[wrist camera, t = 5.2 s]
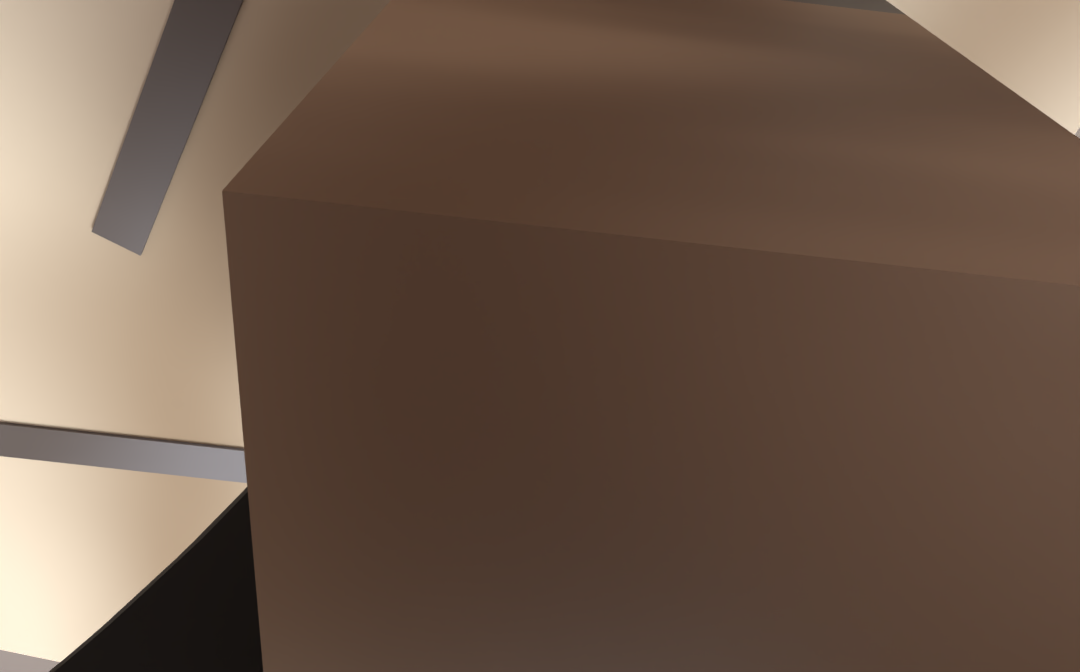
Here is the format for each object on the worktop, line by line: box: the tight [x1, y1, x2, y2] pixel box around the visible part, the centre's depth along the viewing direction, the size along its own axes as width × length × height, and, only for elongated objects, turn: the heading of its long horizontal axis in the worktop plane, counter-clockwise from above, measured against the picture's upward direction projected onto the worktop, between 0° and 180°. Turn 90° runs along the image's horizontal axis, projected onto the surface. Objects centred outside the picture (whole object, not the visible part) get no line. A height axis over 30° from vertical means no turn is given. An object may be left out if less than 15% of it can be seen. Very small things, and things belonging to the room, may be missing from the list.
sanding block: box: [222, 0, 1080, 672], centre depth 8 cm, size 4×8×6 cm, turn 174°
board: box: [0, 0, 1080, 662], centre depth 11 cm, size 16×18×1 cm
